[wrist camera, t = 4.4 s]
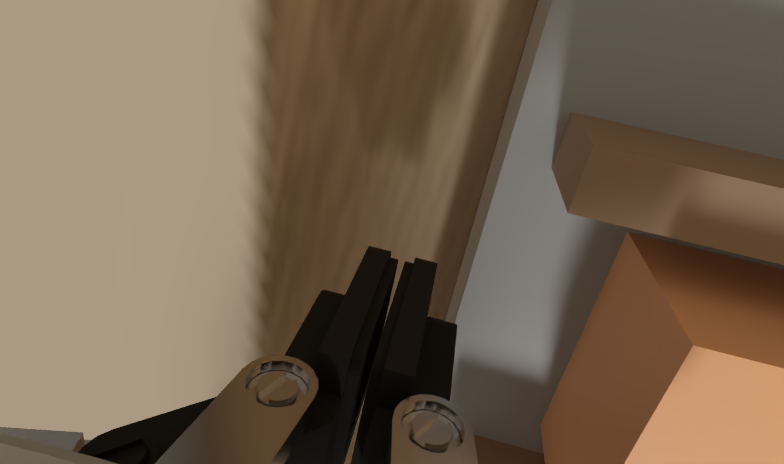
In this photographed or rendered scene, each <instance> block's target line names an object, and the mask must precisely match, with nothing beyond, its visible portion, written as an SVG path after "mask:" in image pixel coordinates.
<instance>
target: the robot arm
mask: <svg viewBox="0 0 784 464" xmlns="http://www.w3.org/2000/svg"><path fill="white" fill-rule="evenodd" d="M390 257H391V251H387V250H383V249H379V248H375V247H371V246H369V247H368V249H367V251H366V253H365V255H364V257H363V259H362V261H361V263H360V265H359V267H358V269H357V272H356V274H355V276H354V278H353V280H352V282H351V284H350V286H349V288H348V290H347V292H346V294H345V295H342V294H338V293H334V292H331V291H327V290H322V291H321V293H320V294H319V296H318V298H317V299H316V301H315V303H314V305H313V306H312V308H311V310H310V312H309V313H308V315H307V317H306V319H305V320H304V322H303V324H302V326H301V327H300V329H299V331H298V333H297V334H296V336H295V338H294V340H293V341H292V343H291V345H290V347H289V349H288V350H287V352H286V354H285V356H283V355H272V356H266V357H262V358H259V359H257V360H255V361H252V362H251V363H249V364H248V365H247V366H246V367H244V368H243V369H242V370H241V371H240V372H239V373H238V374H237V376H236V377H235V378H234V379H233V380H232V381H231V382H230V383H229V384H228V385H227V386H226V388H224V390H223V391H222V392H221V393H220V394H219V395H218V396H217V397H215V398H212V399H208V400H205V401H202V402H199V403H196V404H192V405H189V406H186V407H183V408H180V409H176V410H173V411H170V412H167V413H164V414H161V415H157V416H155V417H152V418H148V419H145V420H142V421H138V422H136V423H132V424H129V425H126V426H123V427H120V428H116V429H113V430H111V431H108V432H106V433H104V434H101V435H99V436H97V437H96V438H94V439H93V440H84V437H83V433H78V432H65V431H50V430H36V429H20V428H6V427H0V464H344V462H345V458H346V455H347V452H348V449H349V445H350V442H351V439H352V436H353V433H354V429H355V426H356V423H357V420H358V417H359V413H360V410H361V407H362V404H363V401H364V405H363V410H362V414H361V419H360V424H359V428H358V433H357V437H356V442H355V447H354V451H353V456H352V461H351V464H478V460H477V453H476V446H475V439H474V433H473V429H472V426H471V423H470V421H469V419H468V418H467V416H466V415H465V413H464V412H463V411H462V410H461V409H460V408H458V407H457V406H456V405H455V404H454V403H452V402H450V397H451V387H452V377H453V366H454V356H455V346H456V336H457V324H455V323H451V322H447V321H443V320H439V319H435V318H431V317H427V315H428V309H429V304H430V299H431V294H432V289H433V284H434V279H435V274H436V268H437V263H435V262H431V261H427V260H423V259H419V258H415V261H414V263H410V262H406V261H405V263H404V267H403V270H402V273H401V276H400V279H399V282H398V285H397V289H396V292H395V295H394V298H393V301H392V304H391V307H390V311H389V314H388V317H387V320H386V323H385V319H386V315H387V310H388V305H389V301H390V296H391V292H392V287H393V283H394V278H395V274H396V269H397V264H398V259H394V258H390ZM384 324H385V326H384ZM383 328H384V329H383ZM365 394H366V396H365ZM364 397H365V400H364Z"/></svg>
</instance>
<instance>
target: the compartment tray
mask: <svg viewBox="0 0 784 464" xmlns="http://www.w3.org/2000/svg"><path fill="white" fill-rule="evenodd" d="M627 232H632V233H636V234H640V235H644V236H648V237H652V238H656V239H661V240H665V241H669V242H673V243H677V244H681V245H686V246H690V247H694V248H698V249H702V250H706V251H710V252H715V253H719V254H723V255H727V256H731V257H735V258H739V259H744V260H748V261H752V262H756V263H760V264H764V265H768V266H773V267H777V268H781V269H784V0H538V3H537V6H536V9H535V13H534V16H533V20H532V23H531V27H530V30H529V34H528V37H527V40H526V44H525V47H524V51H523V54H522V58H521V61H520V64H519V68H518V71H517V75H516V78H515V82H514V85H513V89H512V92H511V95H510V99H509V102H508V106H507V109H506V113H505V116H504V119H503V123H502V126H501V130H500V133H499V137H498V140H497V144H496V147H495V150H494V154H493V157H492V161H491V164H490V168H489V171H488V174H487V178H486V181H485V185H484V188H483V192H482V195H481V198H480V202H479V205H478V209H477V212H476V216H475V219H474V223H473V226H472V229H471V233H470V236H469V240H468V243H467V247H466V250H465V253H464V257H463V260H462V264H461V267H460V271H459V274H458V278H457V281H456V284H455V288H454V291H453V295H452V298H451V302H450V305H449V308H448V312H447V315H446V319H445V321H447V322H451V323H455V324H457V336H456V346H455V356H454V366H453V377H452V387H451V397H450V402H452V403H454V404H455V405H456V406H457V407H458V408H460V409H461V410H462V411H463V412H464V413H465V415H466V416H467V418H468V419H469V421H470V423H471V426H472V429H473V433H474V439H475V446H476V453H477V460H478V464H545V460H544V452H543V443H542V435H541V426H540V424H541V422H542V420H543V418H544V416H545V413H546V411H547V409H548V407H549V404H550V402H551V400H552V398H553V396H554V393H555V391H556V389H557V387H558V385H559V382H560V380H561V378H562V376H563V373H564V371H565V369H566V367H567V365H568V362H569V360H570V358H571V356H572V353H573V351H574V349H575V347H576V345H577V342H578V340H579V338H580V336H581V333H582V331H583V329H584V327H585V325H586V322H587V320H588V318H589V316H590V313H591V311H592V309H593V307H594V305H595V302H596V300H597V298H598V296H599V293H600V291H601V289H602V287H603V285H604V282H605V280H606V278H607V276H608V273H609V271H610V269H611V267H612V265H613V262H614V260H615V258H616V256H617V253H618V251H619V249H620V247H621V245H622V242H623V240H624V238H625V236H626V233H627Z"/></svg>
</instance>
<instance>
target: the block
mask: <svg viewBox="0 0 784 464" xmlns="http://www.w3.org/2000/svg"><path fill="white" fill-rule="evenodd" d="M540 426H541V435H542V443H543V452H544V460H545V464H784V269H781V268H777V267H773V266H768V265H764V264H760V263H756V262H752V261H748V260H744V259H739V258H735V257H731V256H727V255H723V254H719V253H715V252H710V251H706V250H702V249H698V248H694V247H690V246H686V245H681V244H677V243H673V242H669V241H665V240H661V239H656V238H652V237H648V236H644V235H640V234H636V233H632V232H627V233H626V236H625V238H624V240H623V242H622V245H621V247H620V249H619V251H618V253H617V256H616V258H615V260H614V262H613V265H612V267H611V269H610V271H609V273H608V276H607V278H606V280H605V282H604V285H603V287H602V289H601V291H600V293H599V296H598V298H597V300H596V302H595V305H594V307H593V309H592V311H591V313H590V316H589V318H588V320H587V322H586V325H585V327H584V329H583V331H582V333H581V336H580V338H579V340H578V342H577V345H576V347H575V349H574V351H573V353H572V356H571V358H570V360H569V362H568V365H567V367H566V369H565V371H564V373H563V376H562V378H561V380H560V382H559V385H558V387H557V389H556V391H555V393H554V396H553V398H552V400H551V402H550V404H549V407H548V409H547V411H546V413H545V416H544V418H543V420H542V422H541V424H540Z"/></svg>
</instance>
